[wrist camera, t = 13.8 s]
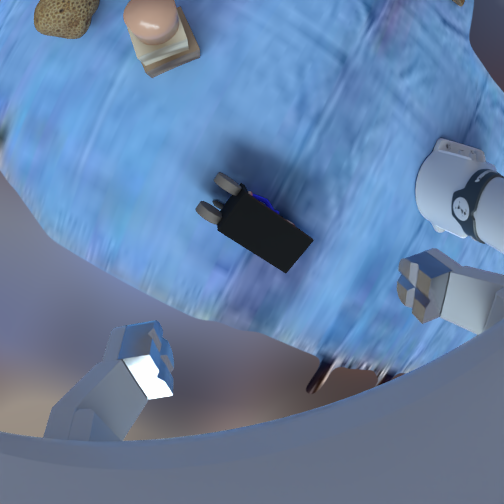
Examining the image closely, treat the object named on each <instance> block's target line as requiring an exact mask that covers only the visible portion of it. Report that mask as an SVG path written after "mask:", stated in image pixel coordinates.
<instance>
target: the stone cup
mask: <svg viewBox="0 0 504 504" xmlns="http://www.w3.org/2000/svg"><path fill="white" fill-rule="evenodd" d="M452 1H454V2H455V3H456V4H457V5H459V6H463V4H464V1H465V0H452Z"/></svg>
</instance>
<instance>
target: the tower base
mask: <svg viewBox="0 0 504 504" xmlns="http://www.w3.org/2000/svg"><path fill="white" fill-rule="evenodd" d="M176 9H177V12H178V15H179V17H180V20H181V23H182V26H183V28H184V31H185V34H186V37H187V40H188V47H189V50H187V51H184V52H181V53H178V54H175V55H173V56H170V57H167V58H165V59H162V60H160V61H157V62H154V63H152V64H150V65H147V66H145V65H144V64H143V63H142V62H141V63H142V65H143V67H144V70H145V72H146V73H147V74H148V75H149V76H150V77H151V78H153V77H155V76H158V75H160V74H162V73H164V72H166V71H168V70H171V69H173V68H175V67H178V66H180V65H182V64H185V63H187V62H190V61H192V60H195V59H197V58H200V48H199V46H198V44H197V42H196V39H195V37H194V35H193V33H192V31H191V28H190V26H189V24H188V22H187V20H186V17H185V15H184V13H183V11H182V9H181V6H180V7H178V8H176ZM128 32H129V31H128Z"/></svg>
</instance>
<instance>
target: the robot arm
mask: <svg viewBox="0 0 504 504" xmlns="http://www.w3.org/2000/svg"><path fill="white" fill-rule="evenodd" d="M415 193H416V202H417V206H418V209H419V211H420V213H421V214H422V215H423V217H424V218H426V219H427V220H428V221H430V222H431V223H432V225H433V227H434V229H435V231H437V232H439V233H441V232H443V231H445V230H446V231H448V232H450V233H452V234H454V235H457V236H459V237H461V238H465V237H468V236H470V237H471V238H472V239H474V240H475V241H478V242H480V243H483V244H488V245H490V246H491V247H493V248H494V249H496V250H498V251H499V252H501V253H502V254H504V177H503V176H502V175H501V174H499V173H498V172H497V171H496V168H495V166H494V165H493V164H491V163H488V162H486V160H485V156H484V153H483V151H482V150H479V149H477V148H474V147H470V146H467V145H464V144H461V143H457V142H454V141H450V140H447V139H443V138H440V139H438V141H437V143H436V145H435V147H434V150H433V152H432V153H431V154H430V155H429V156H428V157H427V159H426V160H425V161H424V163H423V164H422V166H421V168H420V171H419V173H418V177H417V181H416V190H415ZM399 272H400V273H401V276H400V278H399V279H398V281H397V292H398V297H399V298H400V300H401V302H402V303H403V304H404V305H405V306H407V307H410V308H412V314H413V315H414V316H415V317H416V318H417V319H418V320H419V321H420V322H421V323H422V324H423V323H426V322H428V321H431V320H433V319H435V318H438V317H440V316H441V317H440V318H443V319H445V320H447V321H449V322H451V323H453V324H456V325H458V326H460V327H462V328H464V329H466V330H469V331H471V332H473V333H475V334H477V336H475V337H474V338H472V339H471V340H469V341H467V342H466V343H464V344H462V345H460V346H459V347H457V348H455V349H453V350H452V351H450V352H448V353H446V354H444V355H442V356H441V357H439V358H437V359H435V360H433V361H431V362H429V363H427V364H425V365H423V366H421V367H419V368H417V369H415V370H413V371H411V372H409V373H407V374H404V375H402V376H400V377H398V378H396V379H393V380H391V381H389V382H386V383H384V384H382V385H379V386H377V387H374V388H372V389H369V390H367V391H364V392H362V393H359V394H356V395H354V396H351V397H348V398H346V399H343V400H340V401H337V402H334V403H331V404H329V405H325V406H322V407H319V408H316V409H313V410H309V411H306V412H303V413H299V414H295V415H292V416H288V417H285V418H281V419H277V420H272V421H268V422H264V423H260V424H255V425H251V426H246V427H241V428H236V429H231V430H226V431H219V432H214V433H207V434H200V435H192V436H184V437H175V438H165V439H154V440H137V441H123V439H124V438H125V436H126V434H127V433H128V431H129V430H130V428H131V427H132V425H133V423H134V422H135V420H136V419H137V417H138V416H139V414H140V413H141V411H142V409H143V408H144V406H145V405H146V403H147V402H148V399H152V398H159V397H165V396H171V395H173V378H172V375H171V374H170V373H171V371H172V370H173V369H174V359H173V353H172V350H171V347H170V345H169V343H168V341H167V340H166V339H164V338H163V337H162V334H163V329H162V327H161V325H160V323H159V322H158V321H157V320H155V321H150V322H143V323H137V324H131V325H125V326H120V327H115V328H113V329H112V331H111V334H110V337H109V340H108V343H107V347H106V350H105V353H104V357H103V360H102V362H99V363H97V364H96V365H95V366H94V367H93V368H92V369H91V370H90V371H89V372H88V373H87V374H86V375H85V376H84V377H83V378H82V379H81V380H80V381H79V382H78V383H77V384H76V385H75V386H74V387H73V388H71V389H70V391H69V392H67V393H66V394H65V395H64V396H63V398H61V399H60V401H58V402H57V403H56V404H55V405H54V406H53V407H52V410H51V413H50V416H49V420H48V423H47V426H46V430H45V433H44V437H43V438H39V437H31V436H24V435H17V434H11V433H6V432H1V431H0V504H504V275H501V274H497V273H493V272H489V271H485V270H481V269H477V268H473V267H469V266H464V267H462V266H461V265H460V264H458V263H457V262H455V261H454V260H453V259H451V258H450V257H448V256H447V255H445V254H444V253H442V252H441V251H439V250H438V249H436V248H432V249H429V250H426V251H424V252H422V253H419V254H416V255H413V256H410V257H407V258H403V259H401V261H400V263H399Z"/></svg>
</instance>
